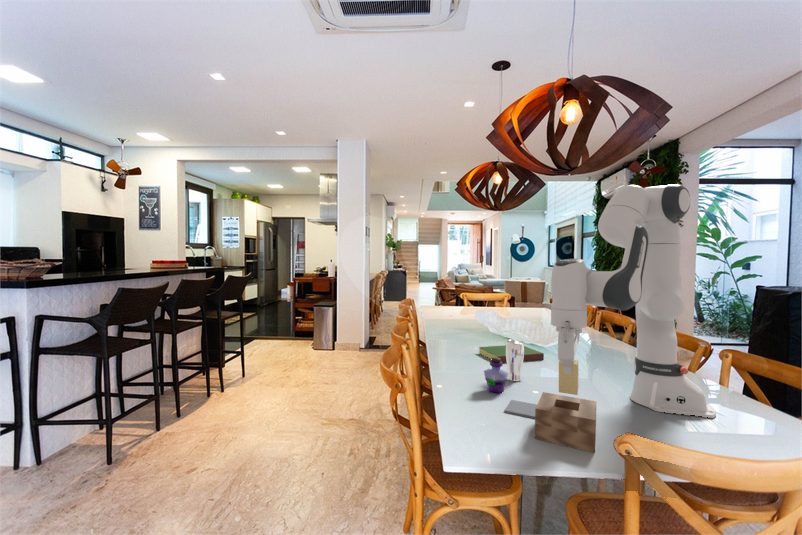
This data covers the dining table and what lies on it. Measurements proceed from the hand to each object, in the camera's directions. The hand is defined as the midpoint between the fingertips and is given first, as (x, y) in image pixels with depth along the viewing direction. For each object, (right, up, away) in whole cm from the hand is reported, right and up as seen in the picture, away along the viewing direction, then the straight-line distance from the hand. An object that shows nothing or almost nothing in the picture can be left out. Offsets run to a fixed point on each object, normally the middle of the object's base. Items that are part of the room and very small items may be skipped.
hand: (568, 370), depth 99 cm
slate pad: (-7, -17, +16) cm, 24 cm away
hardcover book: (+9, -17, +81) cm, 83 cm away
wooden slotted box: (-1, -17, 0) cm, 17 cm away
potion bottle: (-11, -17, +33) cm, 38 cm away
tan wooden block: (0, -6, 0) cm, 6 cm away
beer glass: (0, -17, +46) cm, 49 cm away
